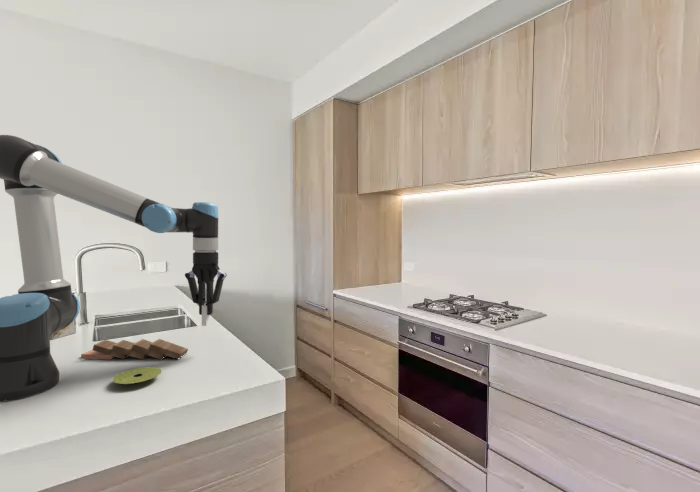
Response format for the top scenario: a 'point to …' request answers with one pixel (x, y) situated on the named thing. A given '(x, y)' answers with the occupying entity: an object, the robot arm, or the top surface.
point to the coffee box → (65, 331)
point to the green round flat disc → (136, 375)
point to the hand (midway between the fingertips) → (206, 324)
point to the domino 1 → (96, 355)
